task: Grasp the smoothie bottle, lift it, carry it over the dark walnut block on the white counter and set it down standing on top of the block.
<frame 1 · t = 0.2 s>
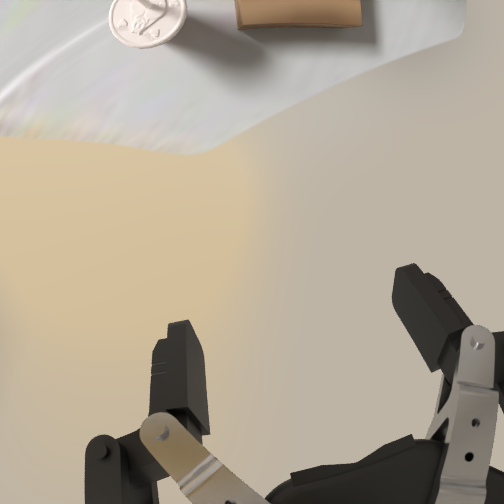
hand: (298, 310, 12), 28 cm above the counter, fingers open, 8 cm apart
smoothie: (161, 24, 27), on the counter
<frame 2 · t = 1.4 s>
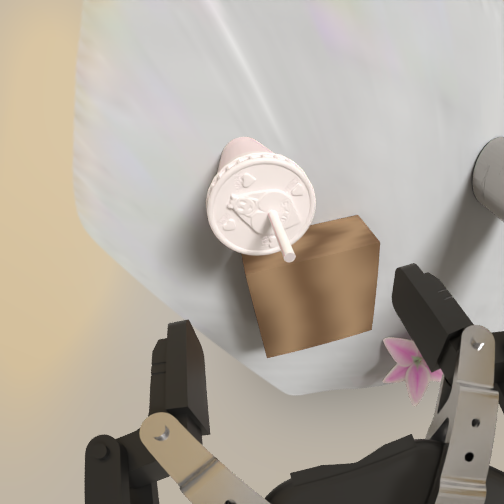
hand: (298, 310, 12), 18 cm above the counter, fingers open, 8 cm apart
smoothie: (243, 157, 26), on the counter
walnut block: (305, 275, 34), on the counter
lily: (407, 338, 46), on the counter
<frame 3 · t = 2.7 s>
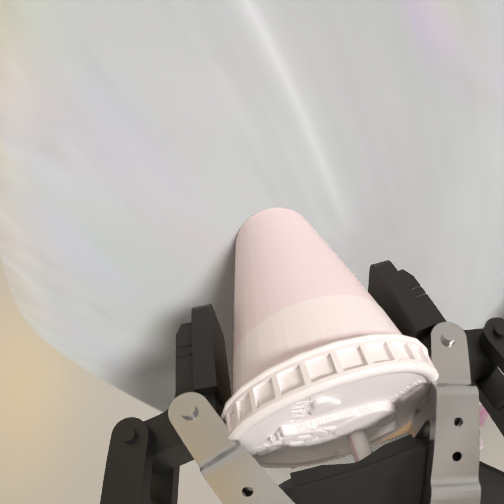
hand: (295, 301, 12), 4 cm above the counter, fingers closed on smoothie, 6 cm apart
smoothie: (273, 239, 16), on the counter, touching gripper
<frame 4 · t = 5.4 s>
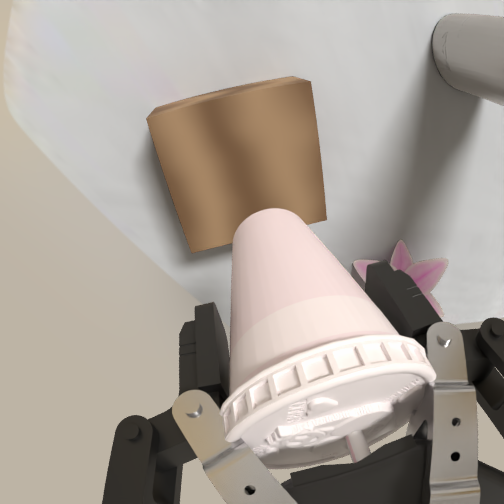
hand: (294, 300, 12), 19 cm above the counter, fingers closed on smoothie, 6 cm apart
smoothie: (270, 240, 16), point 15 cm above the counter, touching gripper
walnut block: (238, 152, 28), on the counter
lily: (385, 266, 39), on the counter
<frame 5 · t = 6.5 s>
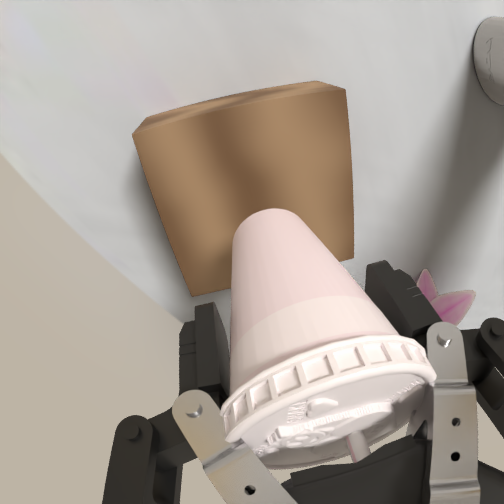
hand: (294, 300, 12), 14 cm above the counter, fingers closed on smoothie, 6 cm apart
smoothie: (270, 240, 16), point 9 cm above the counter, touching gripper
walnut block: (248, 173, 23), on the counter
lily: (406, 296, 35), on the counter
when the fingers open (10 cm above the counter, at t = 7.7 s): smoothie stays where it is, resting on walnut block.
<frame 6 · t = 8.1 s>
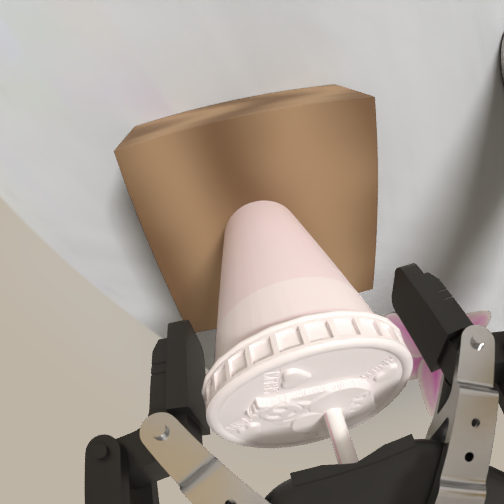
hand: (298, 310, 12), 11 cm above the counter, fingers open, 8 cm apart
smoothie: (260, 231, 16), point 5 cm above the counter, touching walnut block
walnut block: (254, 191, 20), on the counter
lily: (418, 316, 32), on the counter
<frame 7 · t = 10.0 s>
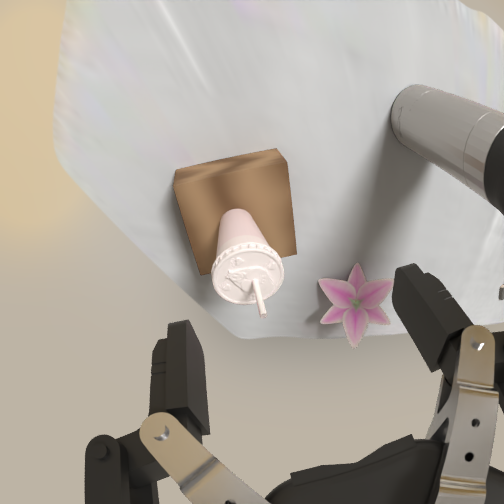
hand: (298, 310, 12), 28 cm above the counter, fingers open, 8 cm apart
smoothie: (236, 222, 36), point 5 cm above the counter, touching walnut block
walnut block: (235, 203, 40), on the counter
lily: (346, 283, 51), on the counter
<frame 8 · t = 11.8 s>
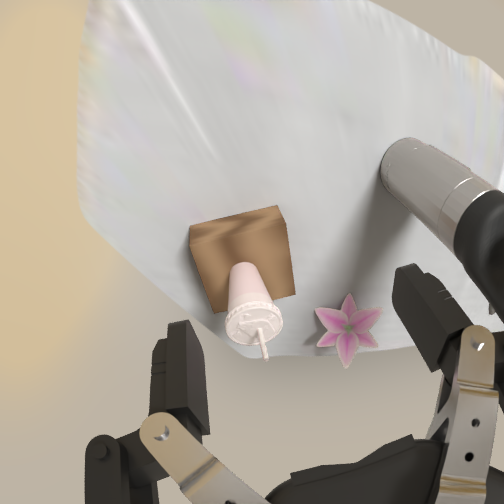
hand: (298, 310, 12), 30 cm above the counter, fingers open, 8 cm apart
smoothie: (243, 272, 43), point 5 cm above the counter, touching walnut block
walnut block: (242, 251, 47), on the counter
cell phone: (501, 295, 69), on the counter
lily: (340, 310, 58), on the counter
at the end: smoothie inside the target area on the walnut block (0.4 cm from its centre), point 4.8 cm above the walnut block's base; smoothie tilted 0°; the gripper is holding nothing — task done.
